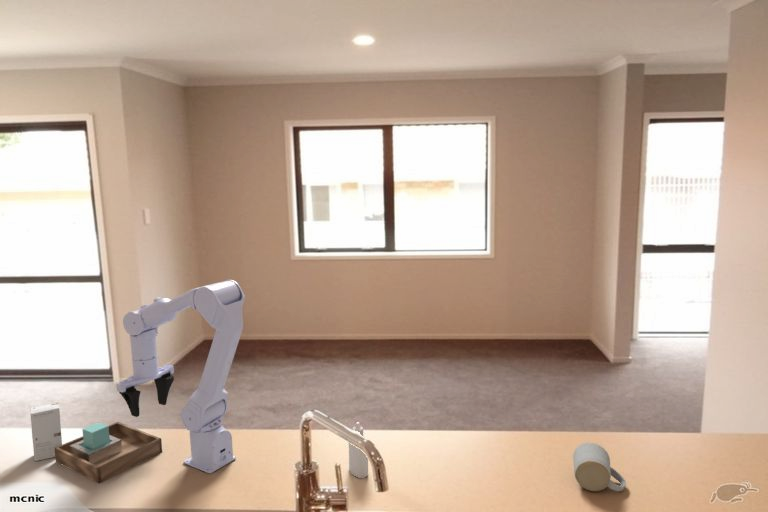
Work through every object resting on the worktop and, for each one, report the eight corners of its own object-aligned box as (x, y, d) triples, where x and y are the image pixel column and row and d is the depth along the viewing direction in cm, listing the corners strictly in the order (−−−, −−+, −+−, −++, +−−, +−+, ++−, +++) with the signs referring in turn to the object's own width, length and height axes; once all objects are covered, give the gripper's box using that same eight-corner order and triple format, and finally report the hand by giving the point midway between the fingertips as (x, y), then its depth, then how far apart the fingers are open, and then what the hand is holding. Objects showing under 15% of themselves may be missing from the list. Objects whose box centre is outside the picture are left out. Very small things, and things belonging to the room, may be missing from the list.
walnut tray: (162, 451, 132) (161, 438, 132) (99, 483, 119) (97, 468, 118) (118, 434, 141) (117, 421, 141) (55, 461, 128) (54, 448, 127)
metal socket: (122, 451, 130) (121, 439, 130) (89, 466, 124) (88, 454, 123) (103, 443, 135) (102, 431, 134) (70, 457, 128) (69, 445, 127)
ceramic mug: (573, 490, 114) (575, 457, 113) (572, 470, 121) (574, 439, 120) (627, 500, 111) (630, 465, 109) (622, 478, 118) (625, 446, 117)
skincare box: (34, 462, 128) (28, 414, 126) (34, 454, 132) (28, 407, 130) (64, 454, 131) (59, 407, 129) (63, 447, 135) (58, 401, 133)
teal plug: (110, 453, 130) (108, 426, 129) (94, 460, 126) (92, 432, 125) (101, 449, 132) (98, 422, 131) (85, 456, 128) (82, 428, 127)
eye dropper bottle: (368, 465, 125) (367, 416, 123) (368, 479, 119) (367, 428, 117) (349, 466, 125) (348, 417, 123) (348, 479, 119) (347, 428, 117)
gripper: (160, 346, 139) (163, 396, 141) (107, 363, 127) (112, 417, 129) (177, 350, 136) (181, 401, 138) (125, 368, 124) (130, 423, 126)
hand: (149, 409), depth 133 cm, fingers open, 7 cm apart
